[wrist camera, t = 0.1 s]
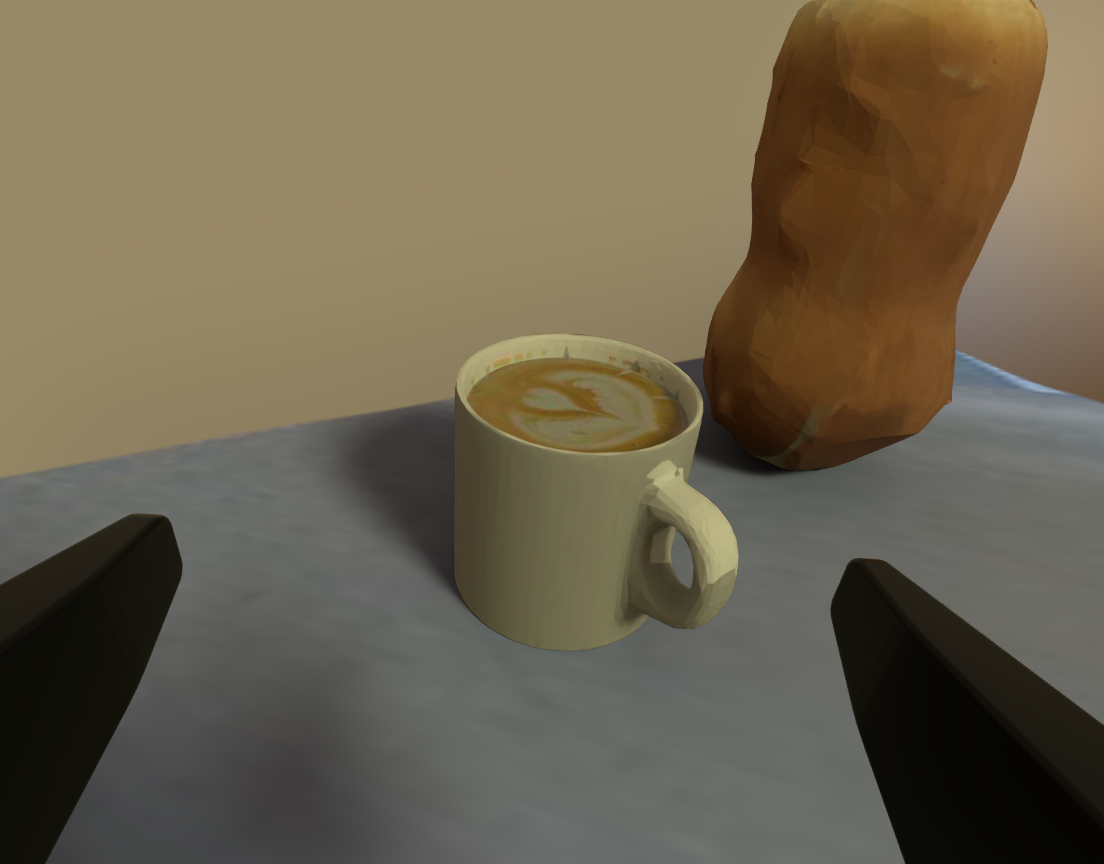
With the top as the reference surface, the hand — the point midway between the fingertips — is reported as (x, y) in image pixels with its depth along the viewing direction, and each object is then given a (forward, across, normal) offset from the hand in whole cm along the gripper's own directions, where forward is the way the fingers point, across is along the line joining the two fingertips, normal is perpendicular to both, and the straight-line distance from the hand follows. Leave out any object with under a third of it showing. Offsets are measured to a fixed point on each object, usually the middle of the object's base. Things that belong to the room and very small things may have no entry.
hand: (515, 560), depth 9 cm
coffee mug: (+16, -3, +17) cm, 23 cm away
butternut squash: (+29, -17, +17) cm, 37 cm away
